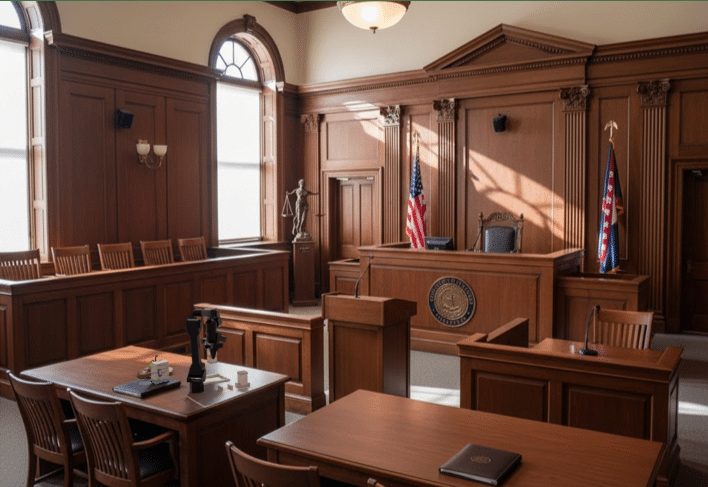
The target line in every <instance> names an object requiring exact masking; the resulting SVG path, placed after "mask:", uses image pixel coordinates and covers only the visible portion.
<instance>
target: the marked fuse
mask: <svg viewBox="0 0 708 487" xmlns="http://www.w3.org/2000/svg"><path fill="white" fill-rule="evenodd" d="M206 359H207V360H206V361H207V362H206V363H207V364H208V365H213V364H218V351H217V352H216V356H215V359H212V357H211V354H210V351H209V348H207V352H206Z"/></svg>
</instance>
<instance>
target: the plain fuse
mask: <svg viewBox="0 0 708 487" xmlns="http://www.w3.org/2000/svg"><path fill="white" fill-rule="evenodd" d="M248 373H249V372H248V371H247V370H238V371H237V370H236V374H237V375H236V376H237V381H236V382H237V383H239V384H241V388H243V387H248V382H249V381H248V377H249V376H248Z"/></svg>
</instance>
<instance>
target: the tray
mask: <svg viewBox="0 0 708 487" xmlns="http://www.w3.org/2000/svg"><path fill="white" fill-rule="evenodd" d="M193 379H201V378H193ZM230 381H231V378H230V377H228V376H225V375H222V374H221V373H212V374H211V373H210V374H206V381H205V382H203V384H204V386H208V385H213V384H218V383H225V382H230Z"/></svg>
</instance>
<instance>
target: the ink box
mask: <svg viewBox="0 0 708 487" xmlns="http://www.w3.org/2000/svg"><path fill="white" fill-rule="evenodd" d="M159 360H160V361H159ZM159 360H156V362H153V361H152V363H151V366H150V367H151V378H150V382H151V381H156V382H157V381H160V380H163V379H169V380H170V375H169V367H170V364H169V360H165V359H159Z"/></svg>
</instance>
